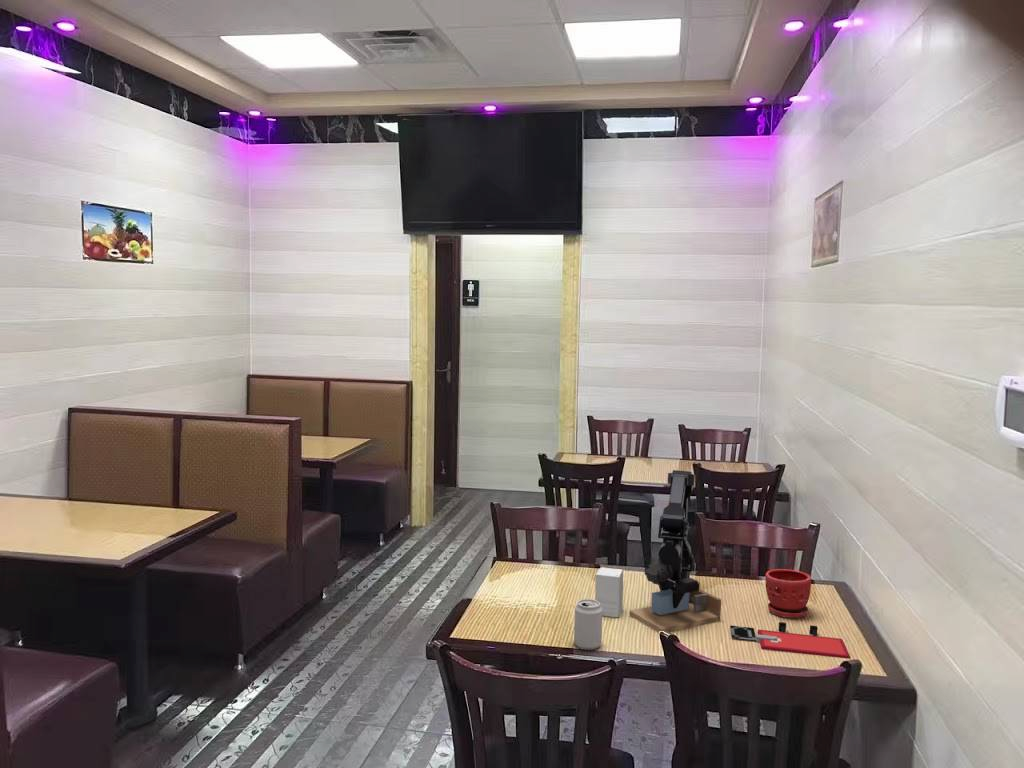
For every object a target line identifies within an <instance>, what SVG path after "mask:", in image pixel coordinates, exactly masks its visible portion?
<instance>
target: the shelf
mask: <svg viewBox="0 0 1024 768" xmlns="http://www.w3.org/2000/svg"><path fill="white" fill-rule="evenodd" d="M721 609H722V599H721V598H719V597H716V596H715V595H713V594H710V593H709V592H706V591H704V590H702V589H700V588H699V591H694V592H689V609H687V610H682V611H678V612H673V613H668V614H664V615H658V614H656V613H655V612H653V611H651V606H646V607H641V608H636V609H631V610H629V615H630V616H629V617H631V618H633V619H634V618H635V619H634V620H636V619H637V620H636V621H638V620H639V621H638V622H640V623H641V622H642V623H641V624H643V623H644V624H643V625H645V624H646V625H645V626H647V627H648V626H649V627H648V628H650V627H651V628H650V629H652V628H653V629H652V630H653V631H655V630H656V631H655V632H657V633H659V631H668V633H671V632H672V633H673V632H676V631H681V630H685V629H690V628H694V627H699V626H703V625H707V624H712V623H716V621H717V622H720V621H721V617H722V616H721V615H722V614H721V612H722V611H721Z"/></svg>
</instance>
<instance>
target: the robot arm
mask: <svg viewBox="0 0 1024 768" xmlns="http://www.w3.org/2000/svg"><path fill="white" fill-rule="evenodd" d="M667 485H669V491H670V492H669V498H668V499H669V501H668V505H666V507H664V508H663V512H662V515H660V516H659V523H658V524H659V526H658V535H657V538H658V539H662V544H661V546H660V549H659V550H658V562H657V563H653V564H648V565H646V566H645V568H644V575H645V576H646V579H647V581H648V582H651V583H653V584H654V585H658V588H659V591H663V590H668V589H671V591H672V592H673V608H677V607H678V605H679V603H680V602H681V600H682V598H683V596H684V595H685V593H689V592H694V591H699V589H700V582H699V581H698V580H697V579H695V578H692V577H690V574H691V573H693V572H695V566H696V563H695V562H696V561H695V559H696V558H695V557H694V554H693V553H692V547H691V544H690V543H689V541H688V533H689V532H688V531H689V521H688V505H689V503H688V501H689V497H690V496H691V494H692V491H693V489H694V487H695V486H696V475H695V474H693V471H691V470H676V469H673V470H672V472H668V473H667Z"/></svg>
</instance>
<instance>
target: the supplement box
mask: <svg viewBox="0 0 1024 768" xmlns="http://www.w3.org/2000/svg"><path fill="white" fill-rule="evenodd" d="M594 576H595V583H594V585H595V587H594V589H595V591H594V592H595V593H594V595H595V596H594V598H595V599H594V600H596V601H598V602H599V603H600V606H601V607H602V617H609V616H610V617H612V618H617V617H618V618H619V617H620V616H621V613H622V612H623V610H624V608H623V607H624V604H623V603H624V602H623V601H624V569H618V568H611V567H609V568H608V567H603V566H602V567H600V568H599V569H598V571H597V572H596V573H595V575H594Z"/></svg>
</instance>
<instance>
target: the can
mask: <svg viewBox="0 0 1024 768" xmlns="http://www.w3.org/2000/svg"><path fill="white" fill-rule="evenodd" d="M573 626H574V627H573V628H574V629H573V630H574V631H573V643H574V645H576V646H577V648H579V649H582V650H588V651H592V649H593V650H596V649H598V648H599V647H600V646H601V645H602V638H603V636H602V634H603V616H602V607H601V606H600V603H599V602H598V601H596V600H595V599H591V598H583V599H580V600H577V602H576V605H575V606H574V625H573Z"/></svg>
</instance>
